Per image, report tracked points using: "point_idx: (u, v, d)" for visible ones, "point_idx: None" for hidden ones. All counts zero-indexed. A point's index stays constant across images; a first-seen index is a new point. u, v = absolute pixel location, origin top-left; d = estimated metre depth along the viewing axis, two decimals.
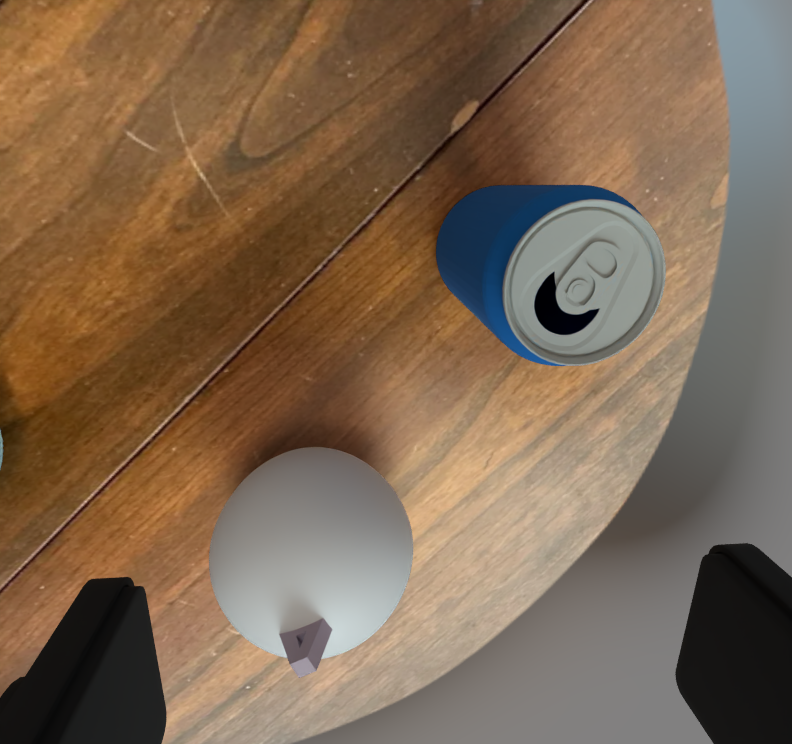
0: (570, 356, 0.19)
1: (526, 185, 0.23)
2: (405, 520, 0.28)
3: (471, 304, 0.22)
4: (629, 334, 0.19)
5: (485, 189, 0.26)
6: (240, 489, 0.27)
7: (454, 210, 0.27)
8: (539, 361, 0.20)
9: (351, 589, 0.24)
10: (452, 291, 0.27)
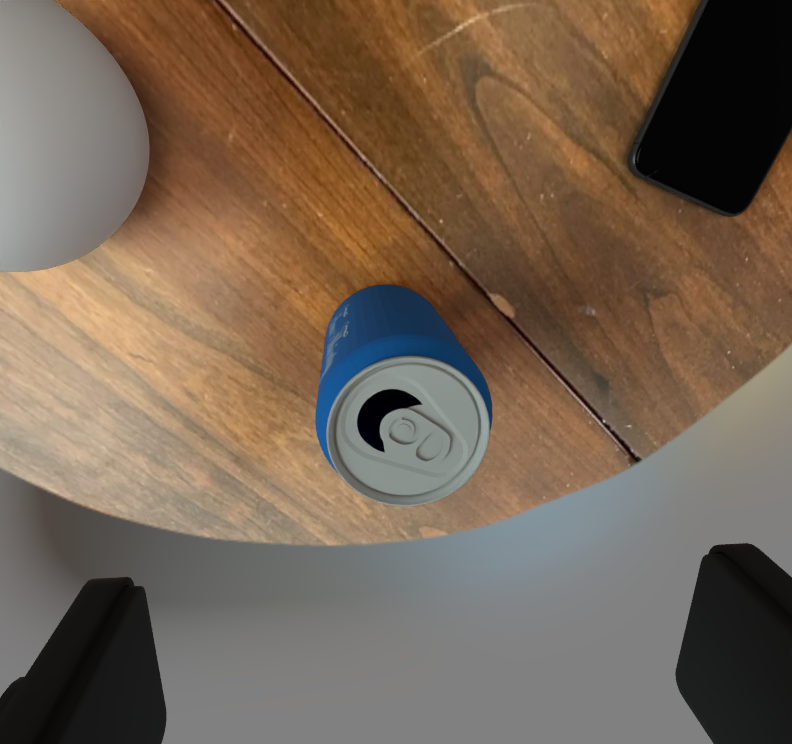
0: (334, 432, 0.18)
1: None
2: (64, 260, 0.21)
3: (362, 325, 0.21)
4: (358, 483, 0.19)
5: None
6: (81, 25, 0.19)
7: (426, 301, 0.27)
8: (322, 401, 0.19)
9: None
10: (349, 304, 0.26)
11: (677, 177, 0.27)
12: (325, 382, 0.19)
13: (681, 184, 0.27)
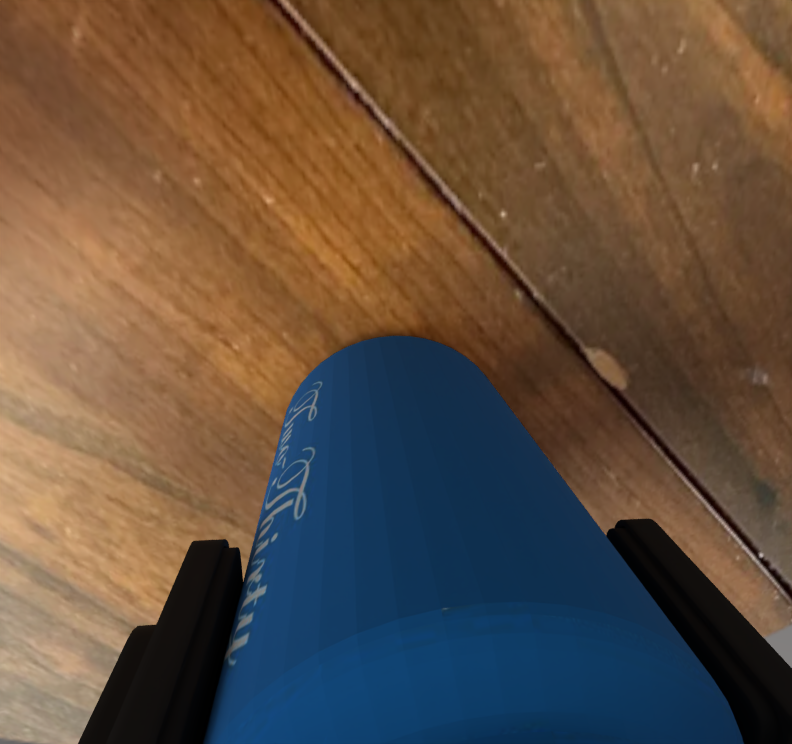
0: None
1: None
2: None
3: (345, 491, 0.08)
4: None
5: None
6: None
7: (476, 369, 0.14)
8: None
9: None
10: (324, 381, 0.13)
11: None
12: None
13: None
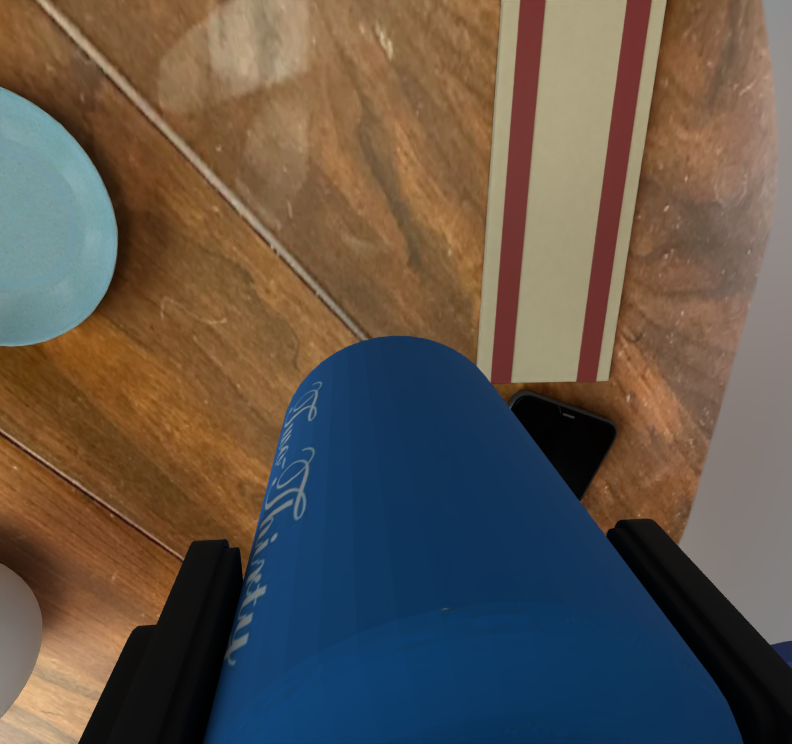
0: None
1: None
2: None
3: (344, 491, 0.08)
4: None
5: None
6: None
7: (476, 369, 0.14)
8: None
9: None
10: (324, 381, 0.13)
11: None
12: None
13: None
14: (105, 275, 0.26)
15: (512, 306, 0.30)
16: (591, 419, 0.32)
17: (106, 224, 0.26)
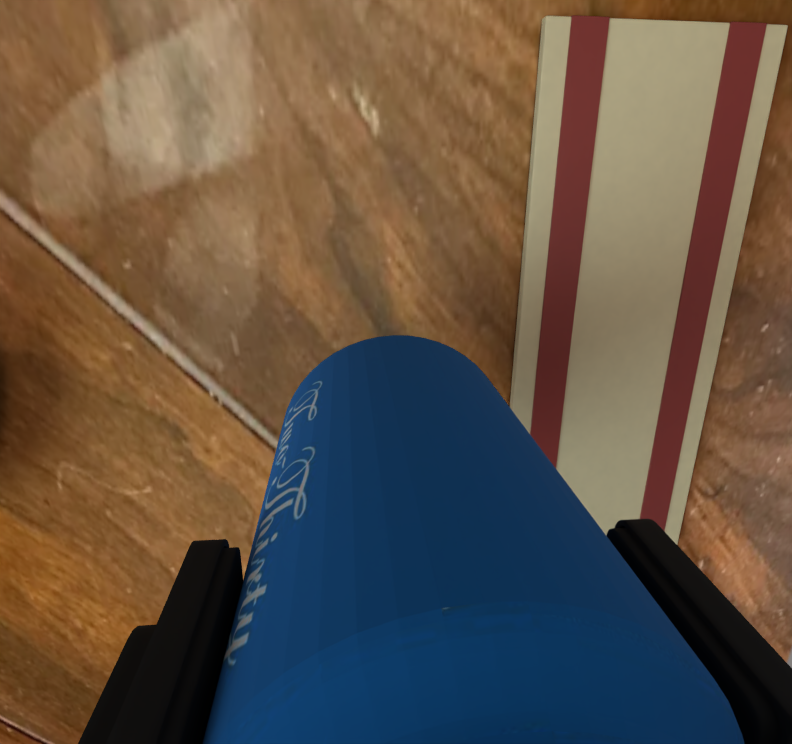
0: None
1: None
2: None
3: (345, 491, 0.08)
4: None
5: None
6: None
7: (476, 369, 0.14)
8: None
9: None
10: (324, 380, 0.13)
11: None
12: None
13: None
14: None
15: None
16: None
17: None
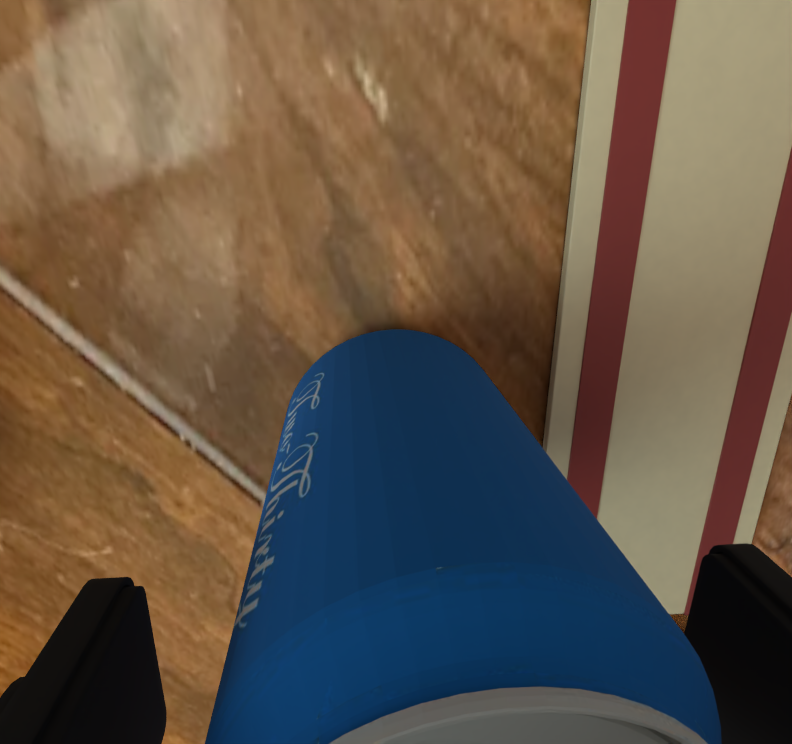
0: None
1: None
2: None
3: (347, 470, 0.08)
4: None
5: None
6: None
7: (472, 361, 0.15)
8: None
9: None
10: (326, 372, 0.13)
11: None
12: (223, 705, 0.06)
13: None
14: None
15: None
16: None
17: None
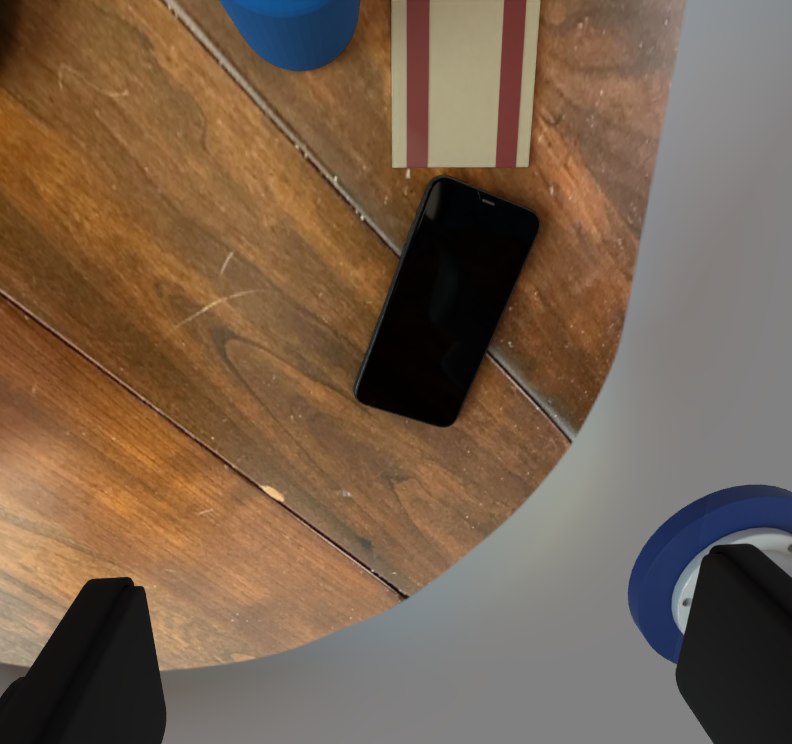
0: None
1: None
2: None
3: None
4: None
5: None
6: None
7: None
8: None
9: None
10: None
11: (392, 405, 0.35)
12: None
13: (396, 409, 0.35)
14: None
15: (423, 77, 0.29)
16: (512, 206, 0.32)
17: None
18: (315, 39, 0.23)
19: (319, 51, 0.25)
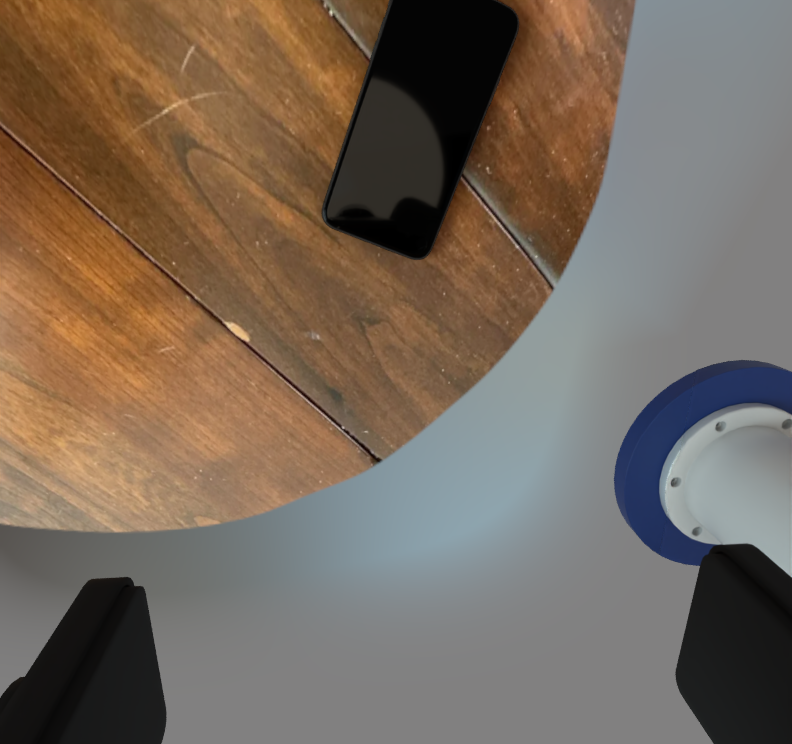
0: None
1: None
2: None
3: None
4: None
5: None
6: None
7: None
8: None
9: None
10: None
11: (362, 229, 0.33)
12: None
13: (367, 234, 0.33)
14: None
15: None
16: (489, 0, 0.30)
17: None
18: None
19: None
